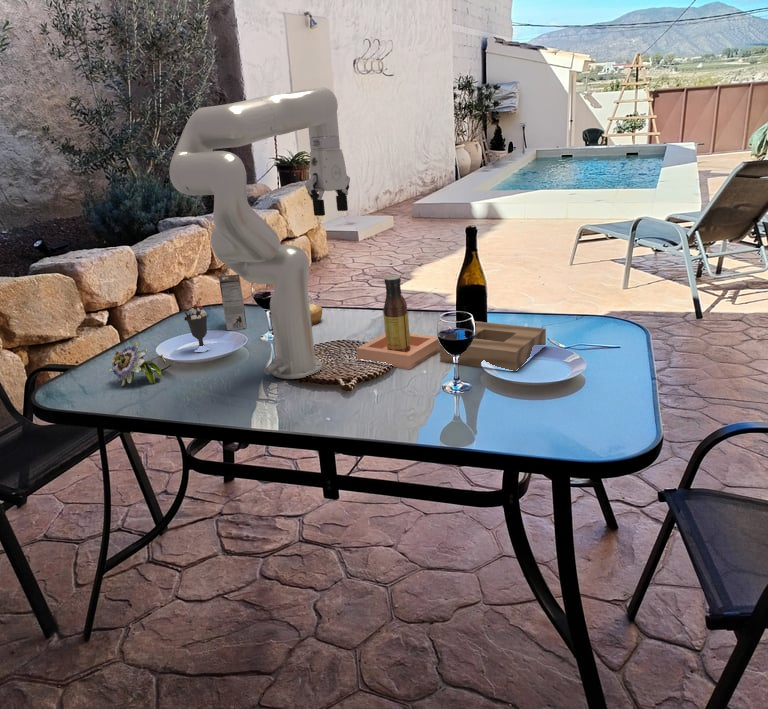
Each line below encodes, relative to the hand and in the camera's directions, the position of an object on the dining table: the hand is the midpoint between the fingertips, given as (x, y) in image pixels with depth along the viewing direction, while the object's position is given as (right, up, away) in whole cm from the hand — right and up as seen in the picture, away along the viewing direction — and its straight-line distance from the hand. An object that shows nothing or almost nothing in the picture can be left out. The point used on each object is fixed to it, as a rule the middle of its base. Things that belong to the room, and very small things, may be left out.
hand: (331, 213), depth 163 cm
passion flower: (-48, -44, -5) cm, 66 cm away
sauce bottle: (+18, -37, -1) cm, 41 cm away
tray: (+18, -37, -1) cm, 41 cm away
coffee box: (-34, -28, +38) cm, 58 cm away
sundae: (-39, -36, +16) cm, 55 cm away
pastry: (-12, -27, +36) cm, 47 cm away
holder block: (+42, -37, -5) cm, 56 cm away
